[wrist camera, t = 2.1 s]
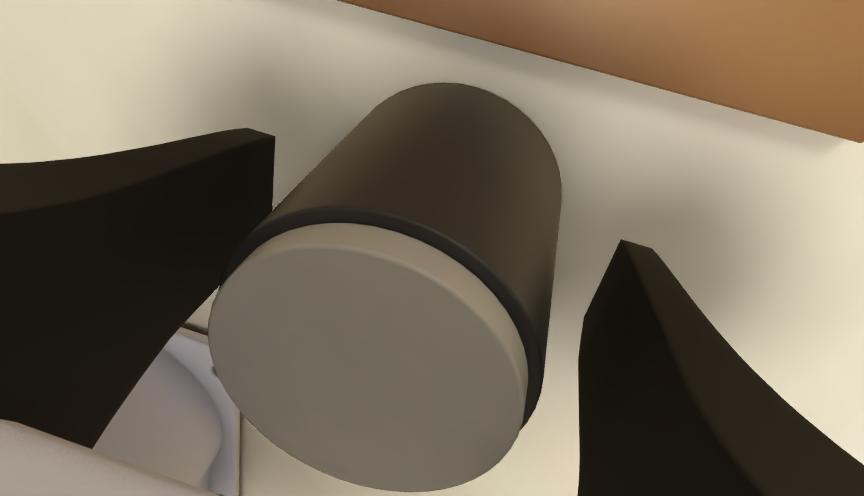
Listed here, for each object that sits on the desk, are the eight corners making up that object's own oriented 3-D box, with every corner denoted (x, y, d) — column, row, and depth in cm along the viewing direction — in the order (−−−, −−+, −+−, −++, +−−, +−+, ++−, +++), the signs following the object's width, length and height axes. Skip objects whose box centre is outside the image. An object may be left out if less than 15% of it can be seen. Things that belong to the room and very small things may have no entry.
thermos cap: (523, 305, 14) (485, 538, 9) (336, 247, 15) (199, 438, 10) (595, 119, 11) (598, 306, 6) (360, 53, 12) (184, 179, 7)
